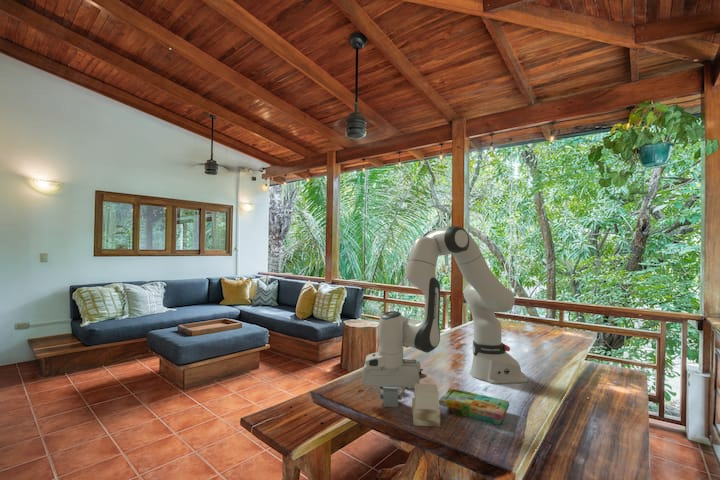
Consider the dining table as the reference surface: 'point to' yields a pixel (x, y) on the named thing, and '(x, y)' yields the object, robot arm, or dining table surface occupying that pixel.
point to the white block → (426, 397)
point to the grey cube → (390, 396)
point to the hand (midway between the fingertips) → (390, 398)
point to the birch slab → (425, 416)
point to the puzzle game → (475, 405)
